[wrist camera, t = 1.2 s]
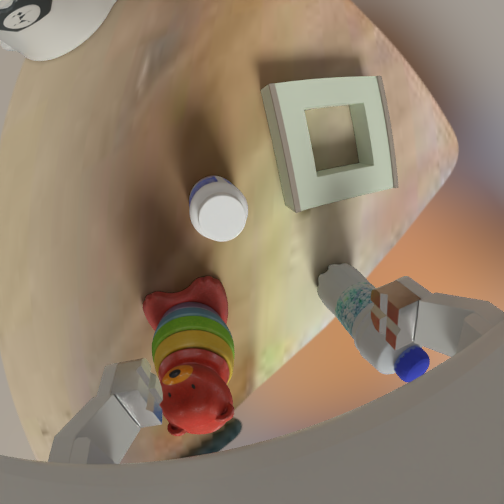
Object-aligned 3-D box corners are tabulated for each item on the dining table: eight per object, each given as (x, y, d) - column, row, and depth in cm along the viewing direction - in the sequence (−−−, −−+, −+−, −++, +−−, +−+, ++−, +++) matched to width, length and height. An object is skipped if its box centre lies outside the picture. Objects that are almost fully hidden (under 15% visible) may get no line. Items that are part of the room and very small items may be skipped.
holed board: (260, 90, 29) (268, 83, 26) (364, 80, 31) (381, 75, 27) (285, 205, 35) (295, 212, 31) (381, 182, 36) (398, 187, 33)
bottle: (340, 305, 42) (418, 398, 24) (303, 294, 40) (377, 399, 21) (362, 265, 40) (457, 346, 22) (325, 250, 38) (422, 338, 20)
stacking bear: (217, 270, 36) (241, 371, 20) (240, 332, 40) (271, 437, 24) (138, 296, 35) (111, 402, 19) (168, 354, 39) (167, 460, 23)
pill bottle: (186, 218, 33) (184, 247, 24) (193, 171, 31) (193, 182, 22) (232, 224, 34) (248, 253, 25) (241, 178, 33) (260, 192, 24)
